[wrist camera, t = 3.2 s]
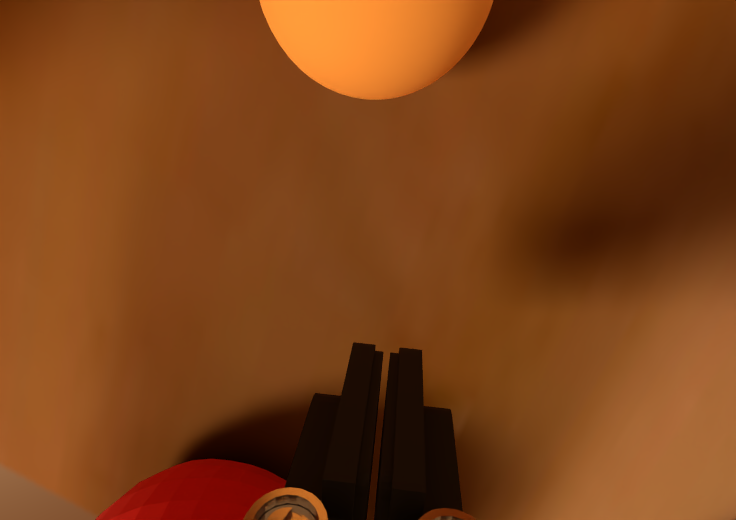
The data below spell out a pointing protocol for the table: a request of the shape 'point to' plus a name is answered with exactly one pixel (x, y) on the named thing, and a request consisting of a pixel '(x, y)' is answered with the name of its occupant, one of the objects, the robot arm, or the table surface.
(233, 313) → the table surface
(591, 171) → the table surface
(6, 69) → the table surface
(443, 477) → the robot arm
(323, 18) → the ball
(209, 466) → the tomato
